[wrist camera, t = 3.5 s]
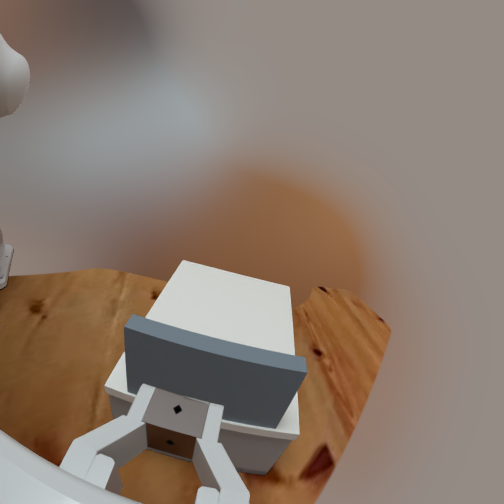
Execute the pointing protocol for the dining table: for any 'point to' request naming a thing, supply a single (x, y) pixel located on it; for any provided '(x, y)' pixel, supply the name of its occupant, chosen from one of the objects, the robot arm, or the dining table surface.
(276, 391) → the lid
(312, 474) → the dining table surface
